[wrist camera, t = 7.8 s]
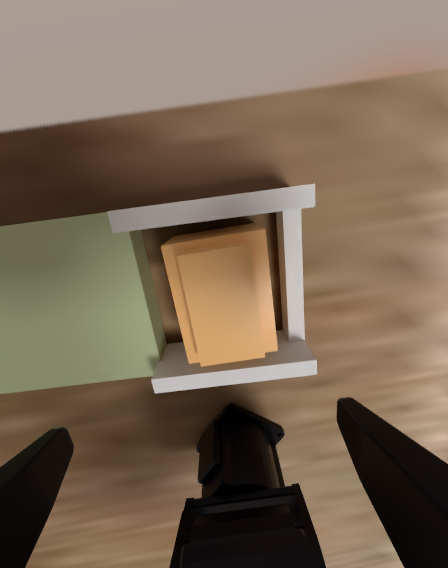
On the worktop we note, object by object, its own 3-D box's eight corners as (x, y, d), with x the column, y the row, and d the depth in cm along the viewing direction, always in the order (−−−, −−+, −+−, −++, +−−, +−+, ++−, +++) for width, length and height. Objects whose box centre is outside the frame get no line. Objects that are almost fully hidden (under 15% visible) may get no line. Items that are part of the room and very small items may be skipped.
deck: (291, 188, 18) (315, 183, 13) (297, 340, 21) (316, 374, 17) (-92, 239, 18) (-188, 250, 14) (-20, 378, 22) (-77, 420, 18)
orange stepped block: (253, 222, 18) (269, 231, 13) (265, 318, 21) (282, 361, 15) (174, 235, 19) (155, 249, 13) (195, 329, 21) (186, 375, 15)
